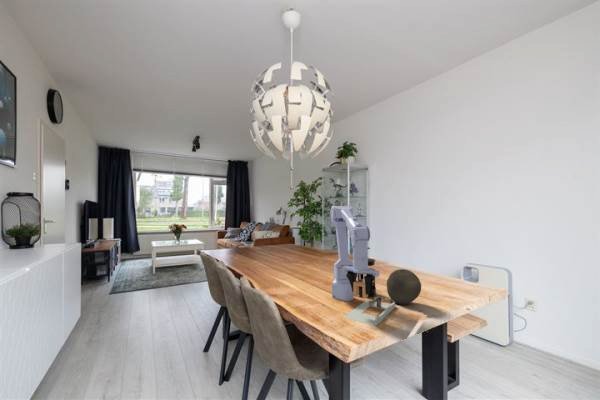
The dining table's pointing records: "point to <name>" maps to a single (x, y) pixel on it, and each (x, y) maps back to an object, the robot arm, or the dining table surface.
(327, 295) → the dining table surface
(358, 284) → the peach u-shaped bracket
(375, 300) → the hook arm
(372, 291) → the french press
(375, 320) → the grey base plate
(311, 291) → the dining table surface
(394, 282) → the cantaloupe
